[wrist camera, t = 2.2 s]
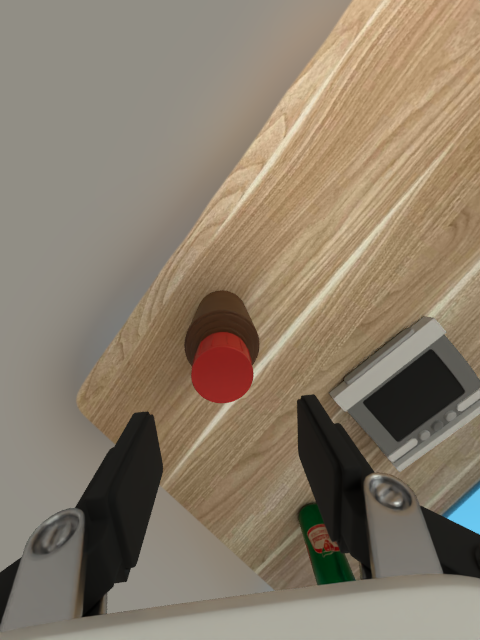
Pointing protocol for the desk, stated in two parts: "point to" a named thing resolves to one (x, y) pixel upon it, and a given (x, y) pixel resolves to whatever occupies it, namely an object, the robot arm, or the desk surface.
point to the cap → (222, 368)
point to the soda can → (323, 549)
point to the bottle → (221, 323)
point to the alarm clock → (411, 393)
